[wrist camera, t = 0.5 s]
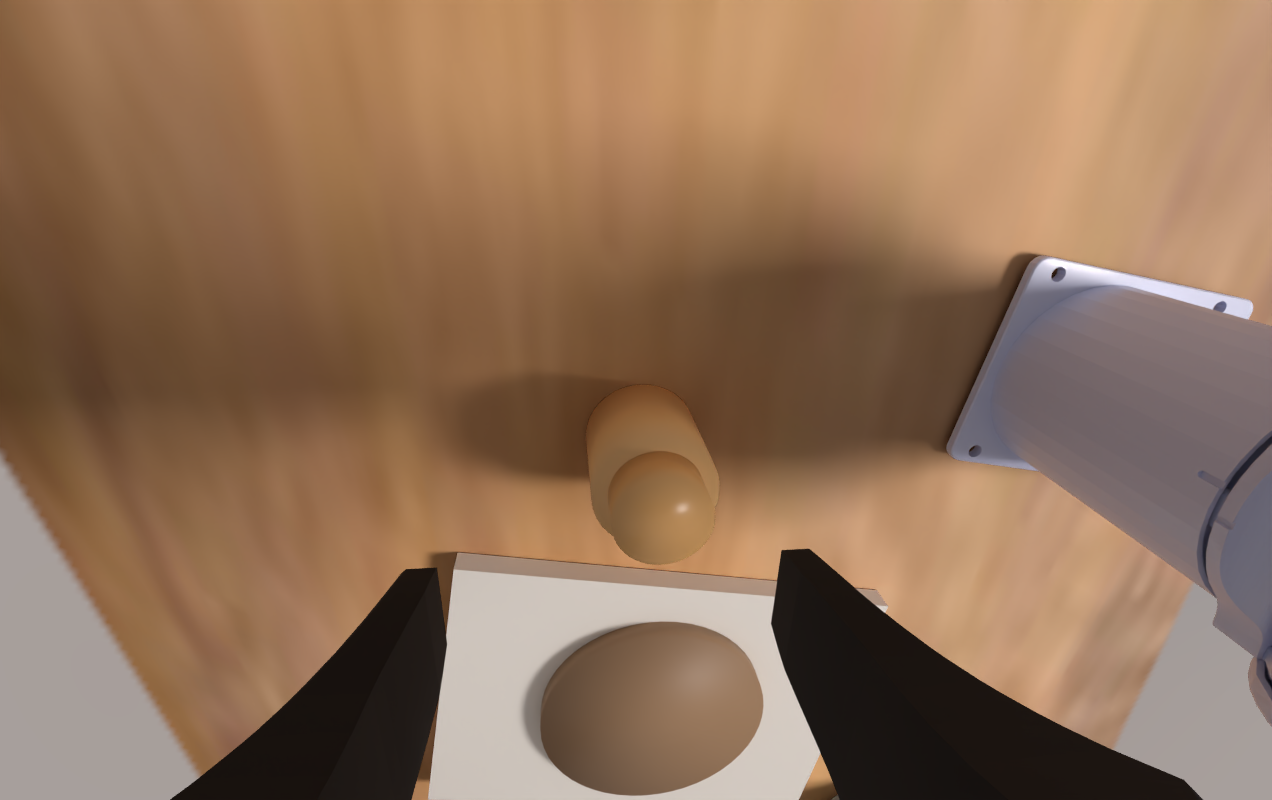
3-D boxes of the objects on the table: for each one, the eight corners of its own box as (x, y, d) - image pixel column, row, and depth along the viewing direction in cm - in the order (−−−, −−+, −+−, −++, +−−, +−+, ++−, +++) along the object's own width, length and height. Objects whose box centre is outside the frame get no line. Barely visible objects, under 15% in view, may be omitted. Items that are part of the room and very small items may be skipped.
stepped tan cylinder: (705, 393, 22) (748, 470, 17) (680, 486, 24) (713, 583, 19) (596, 376, 21) (608, 453, 16) (577, 475, 23) (582, 572, 18)
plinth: (876, 590, 27) (897, 619, 25) (789, 786, 32) (801, 821, 30) (457, 552, 24) (449, 584, 22) (432, 778, 28) (424, 817, 27)
